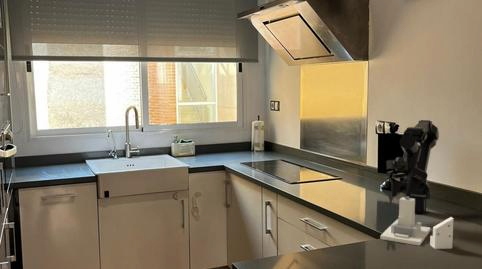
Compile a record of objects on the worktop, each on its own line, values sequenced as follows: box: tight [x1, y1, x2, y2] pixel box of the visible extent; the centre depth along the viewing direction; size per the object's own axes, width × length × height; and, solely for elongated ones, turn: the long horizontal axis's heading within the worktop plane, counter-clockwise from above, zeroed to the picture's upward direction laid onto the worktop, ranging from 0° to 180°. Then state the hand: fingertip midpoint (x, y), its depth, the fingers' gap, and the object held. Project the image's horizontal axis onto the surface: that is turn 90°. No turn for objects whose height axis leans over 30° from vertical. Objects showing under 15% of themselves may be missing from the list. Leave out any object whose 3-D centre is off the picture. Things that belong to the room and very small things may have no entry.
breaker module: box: [397, 195, 416, 228], centre depth 170 cm, size 5×4×12 cm
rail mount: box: [379, 218, 431, 247], centre depth 171 cm, size 18×13×4 cm
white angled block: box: [429, 216, 454, 250], centre depth 158 cm, size 4×10×9 cm, turn 92°
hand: (400, 196), depth 182 cm, fingers open, 9 cm apart
